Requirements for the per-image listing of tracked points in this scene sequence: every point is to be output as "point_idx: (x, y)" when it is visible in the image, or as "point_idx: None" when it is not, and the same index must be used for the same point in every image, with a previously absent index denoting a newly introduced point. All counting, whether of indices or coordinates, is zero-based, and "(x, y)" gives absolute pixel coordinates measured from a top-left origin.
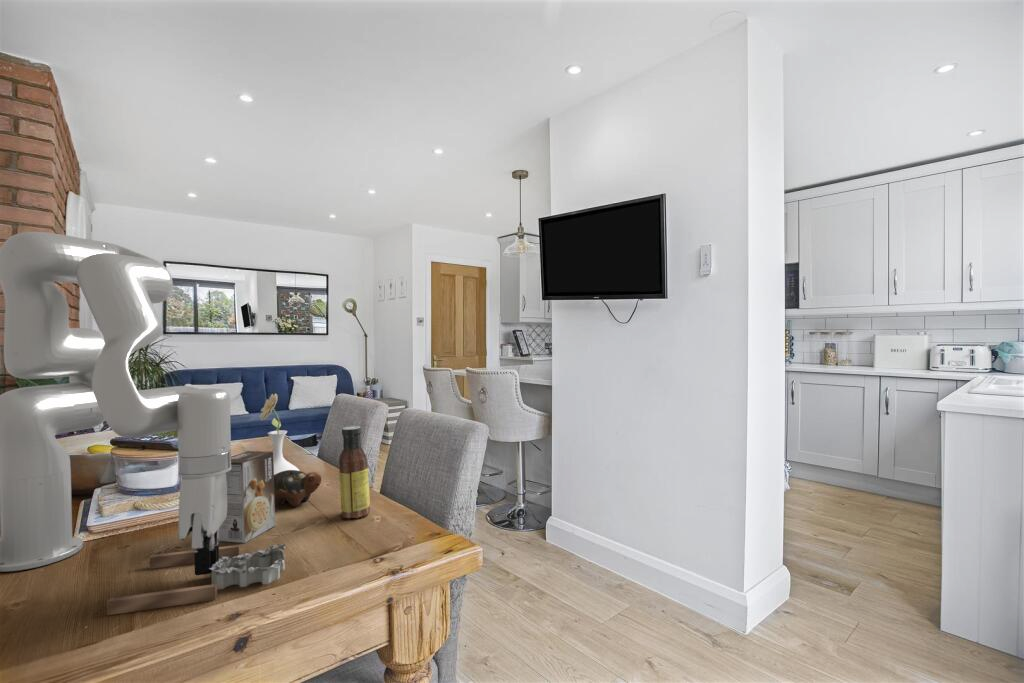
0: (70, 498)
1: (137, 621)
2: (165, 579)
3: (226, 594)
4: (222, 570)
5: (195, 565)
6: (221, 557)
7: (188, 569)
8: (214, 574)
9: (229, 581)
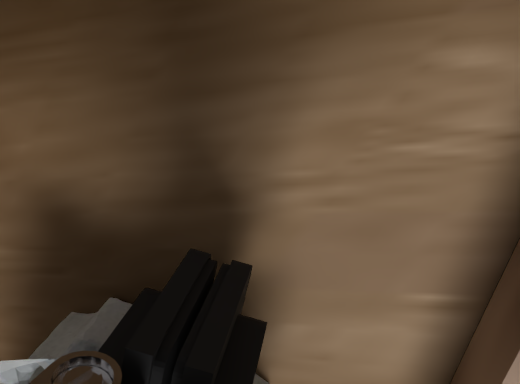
0: None
1: None
2: (352, 59)
3: (5, 340)
4: None
5: (172, 282)
6: (466, 372)
7: (439, 190)
8: (66, 349)
9: None
